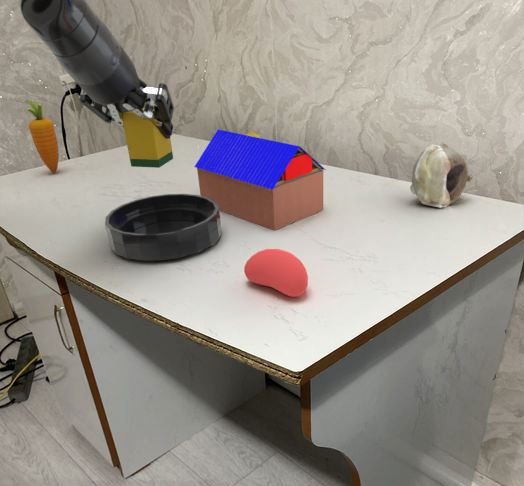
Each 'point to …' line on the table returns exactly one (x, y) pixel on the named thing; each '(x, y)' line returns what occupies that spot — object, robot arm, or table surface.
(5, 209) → the table surface
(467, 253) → the table surface
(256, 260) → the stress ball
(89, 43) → the robot arm
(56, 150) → the carrot
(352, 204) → the table surface
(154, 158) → the sponge
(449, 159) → the sea shell
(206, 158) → the house
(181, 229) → the bowl
